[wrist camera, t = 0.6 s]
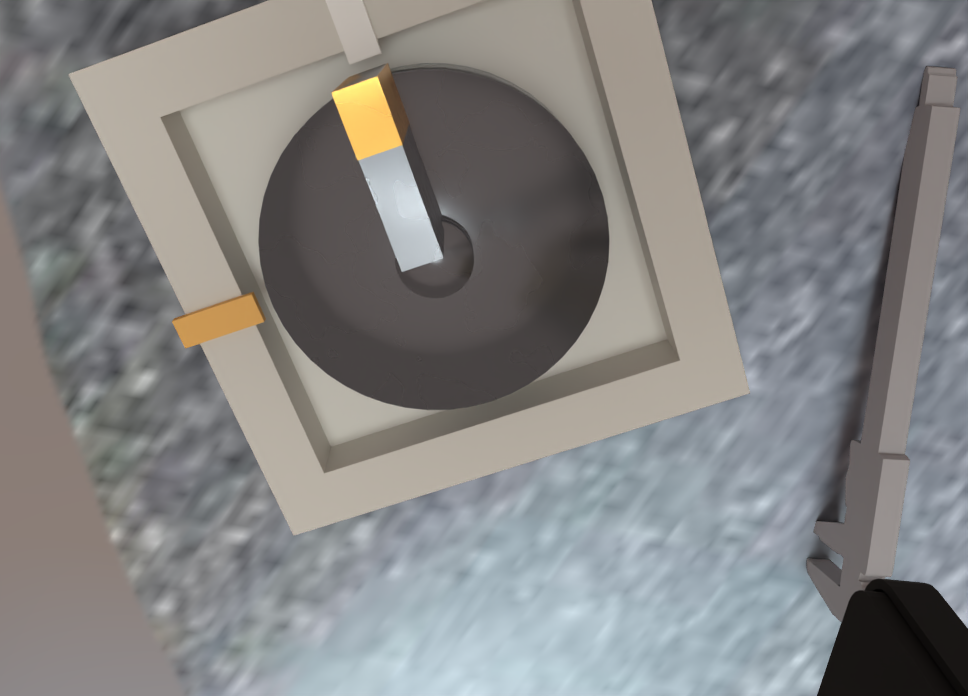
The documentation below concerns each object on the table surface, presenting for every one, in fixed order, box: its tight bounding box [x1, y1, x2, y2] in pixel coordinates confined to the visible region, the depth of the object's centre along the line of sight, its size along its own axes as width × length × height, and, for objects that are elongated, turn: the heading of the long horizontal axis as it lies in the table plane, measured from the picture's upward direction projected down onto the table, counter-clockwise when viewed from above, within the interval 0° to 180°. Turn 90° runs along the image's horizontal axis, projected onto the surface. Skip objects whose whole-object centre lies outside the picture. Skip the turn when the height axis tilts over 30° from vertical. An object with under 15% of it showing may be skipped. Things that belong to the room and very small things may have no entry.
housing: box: [69, 0, 750, 535], centre depth 31 cm, size 17×17×4 cm
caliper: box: [807, 66, 960, 622], centre depth 33 cm, size 20×1×6 cm, turn 176°
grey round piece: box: [258, 63, 610, 410], centre depth 28 cm, size 11×11×7 cm
